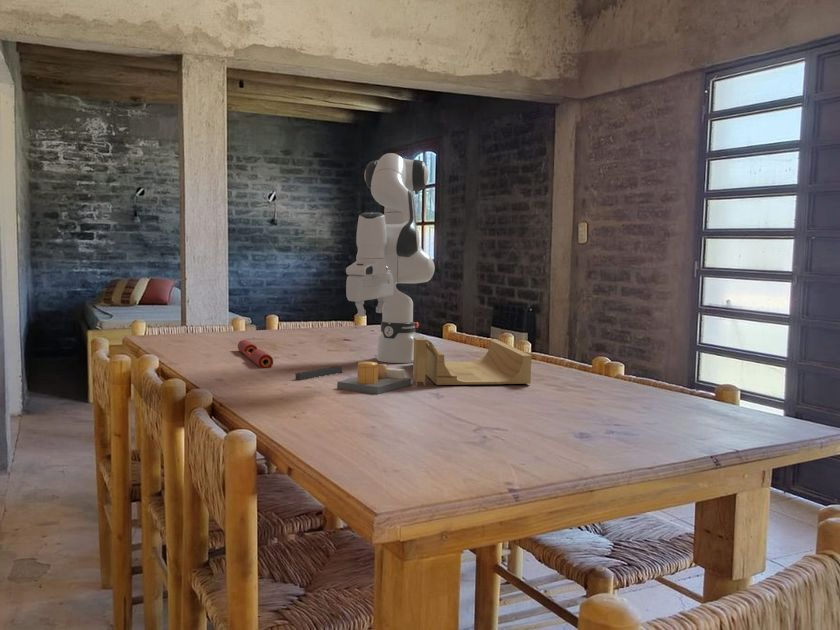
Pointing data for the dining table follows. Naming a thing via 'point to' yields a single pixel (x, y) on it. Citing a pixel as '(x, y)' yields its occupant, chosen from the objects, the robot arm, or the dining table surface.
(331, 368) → the dark grey bar
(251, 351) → the blood vessel
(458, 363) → the skate ramp
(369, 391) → the board
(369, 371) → the cylinder
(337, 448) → the dining table surface
